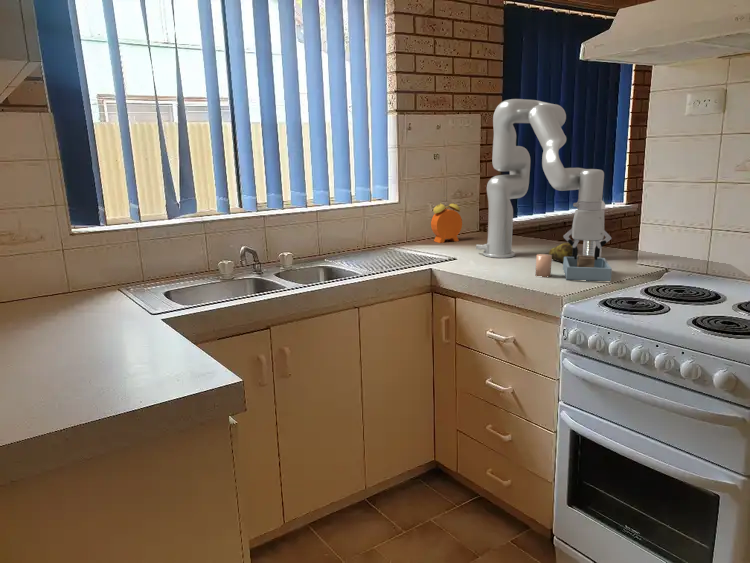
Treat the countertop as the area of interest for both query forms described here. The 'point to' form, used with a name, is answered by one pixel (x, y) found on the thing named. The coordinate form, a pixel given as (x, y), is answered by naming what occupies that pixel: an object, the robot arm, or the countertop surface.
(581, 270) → the tote
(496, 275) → the countertop surface
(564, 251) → the potato
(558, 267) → the countertop surface
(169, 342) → the countertop surface
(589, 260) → the cube
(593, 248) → the water bottle
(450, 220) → the alarm clock
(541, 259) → the cylinder
